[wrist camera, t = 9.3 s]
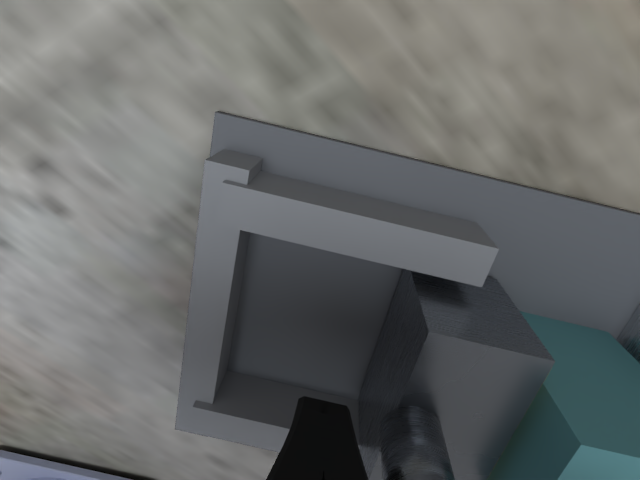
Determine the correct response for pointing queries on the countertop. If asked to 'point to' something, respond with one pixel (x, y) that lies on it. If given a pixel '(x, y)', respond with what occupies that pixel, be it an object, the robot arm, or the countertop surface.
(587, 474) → the block
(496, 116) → the countertop surface
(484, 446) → the block
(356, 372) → the base
